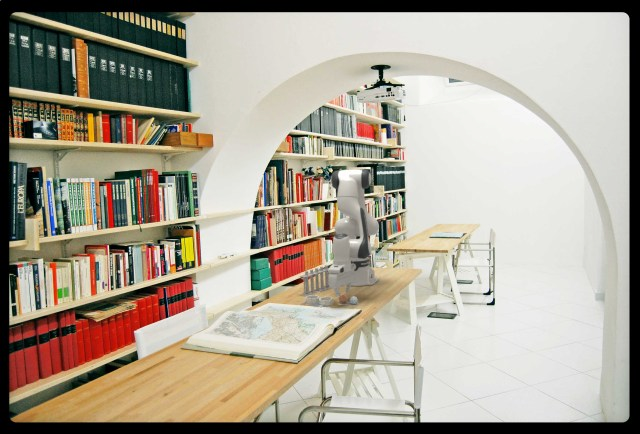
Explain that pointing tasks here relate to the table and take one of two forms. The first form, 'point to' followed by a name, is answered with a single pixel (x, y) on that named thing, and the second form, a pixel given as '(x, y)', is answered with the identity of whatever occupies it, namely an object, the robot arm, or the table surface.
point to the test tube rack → (306, 282)
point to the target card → (314, 304)
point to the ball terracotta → (343, 298)
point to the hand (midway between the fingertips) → (343, 294)
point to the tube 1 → (312, 299)
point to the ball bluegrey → (353, 300)
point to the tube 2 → (326, 301)
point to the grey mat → (348, 304)
